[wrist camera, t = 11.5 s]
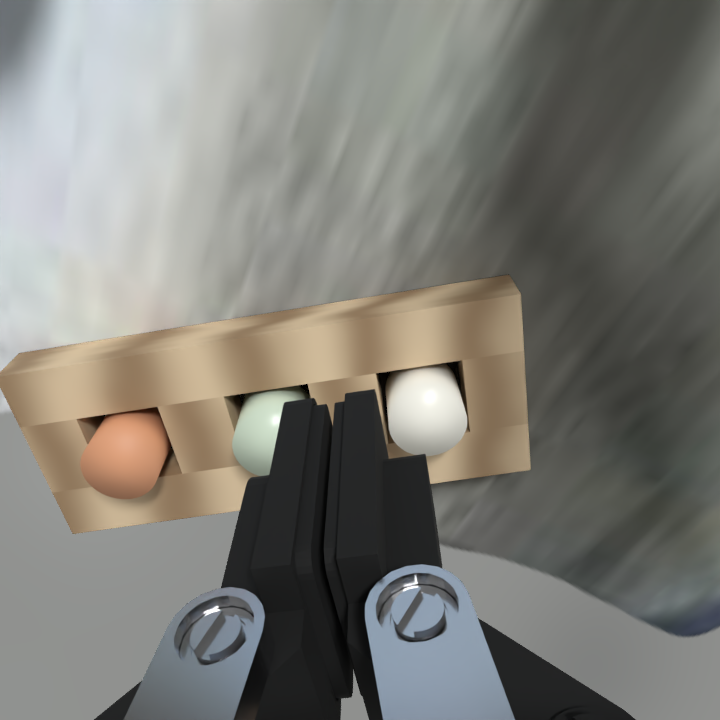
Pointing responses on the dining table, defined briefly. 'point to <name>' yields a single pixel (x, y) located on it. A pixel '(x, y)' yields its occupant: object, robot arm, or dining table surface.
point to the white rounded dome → (425, 409)
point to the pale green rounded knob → (261, 427)
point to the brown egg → (126, 453)
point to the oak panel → (264, 372)
